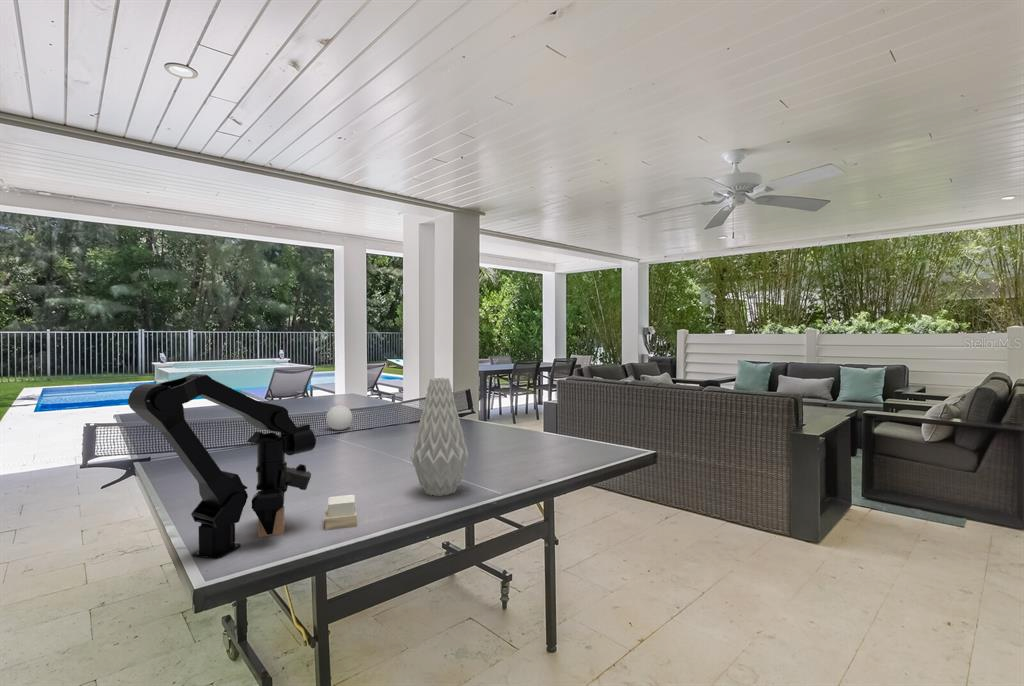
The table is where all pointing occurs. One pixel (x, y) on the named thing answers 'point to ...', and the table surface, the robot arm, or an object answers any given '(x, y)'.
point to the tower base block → (340, 521)
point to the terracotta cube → (278, 524)
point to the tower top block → (341, 506)
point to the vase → (439, 441)
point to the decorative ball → (339, 417)
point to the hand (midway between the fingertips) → (271, 527)
